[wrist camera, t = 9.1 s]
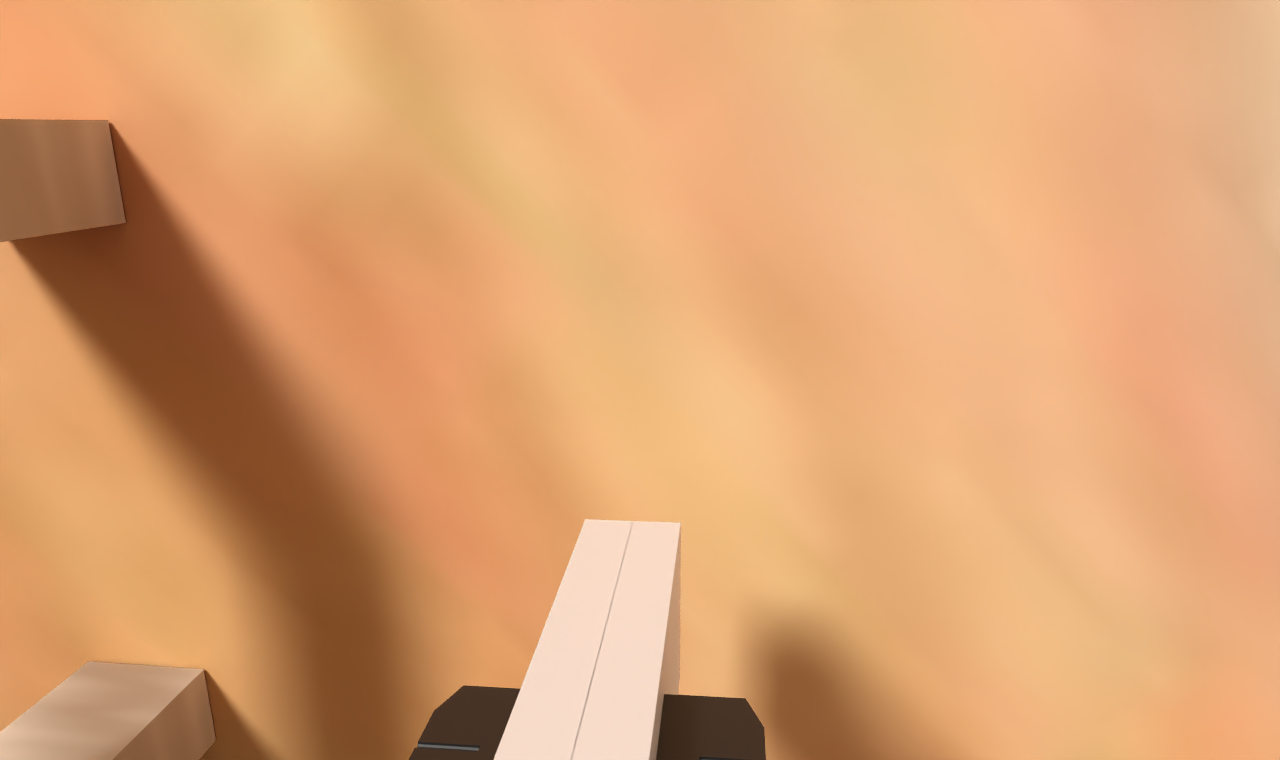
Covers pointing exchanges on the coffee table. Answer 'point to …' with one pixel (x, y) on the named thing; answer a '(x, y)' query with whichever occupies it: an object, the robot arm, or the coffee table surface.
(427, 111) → the coffee table surface
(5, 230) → the bridge
